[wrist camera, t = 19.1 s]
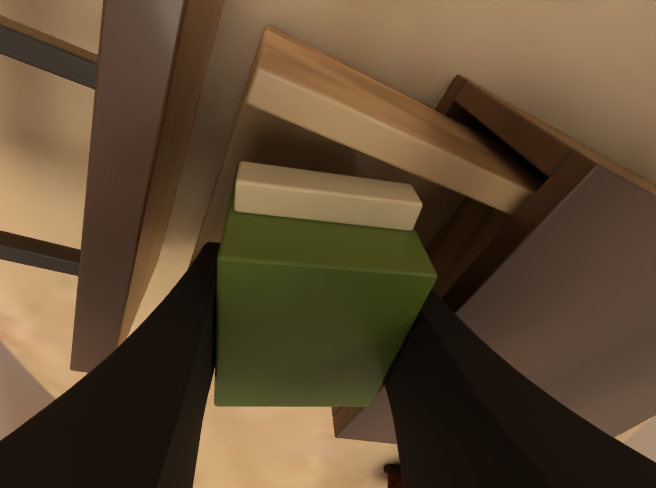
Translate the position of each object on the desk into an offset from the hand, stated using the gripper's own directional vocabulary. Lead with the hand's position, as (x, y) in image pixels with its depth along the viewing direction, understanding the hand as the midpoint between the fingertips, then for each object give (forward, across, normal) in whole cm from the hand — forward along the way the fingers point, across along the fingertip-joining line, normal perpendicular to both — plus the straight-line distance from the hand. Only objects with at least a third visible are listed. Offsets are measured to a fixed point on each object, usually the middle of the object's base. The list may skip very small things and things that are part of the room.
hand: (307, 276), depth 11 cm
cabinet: (+6, -10, +2) cm, 12 cm away
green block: (+1, 0, 0) cm, 1 cm away
